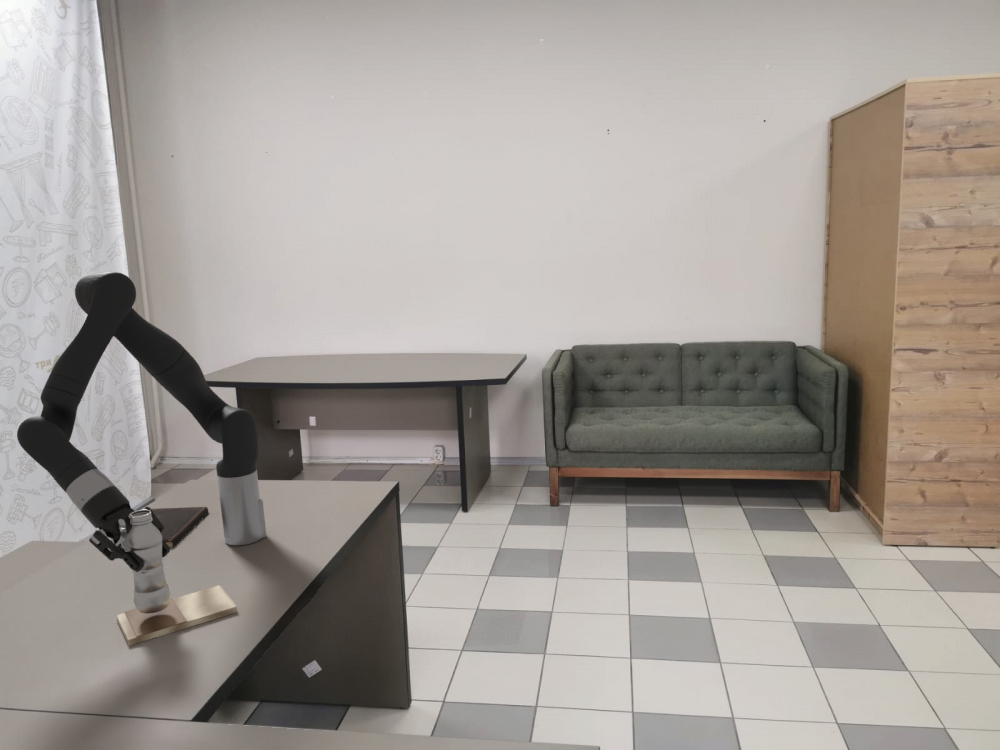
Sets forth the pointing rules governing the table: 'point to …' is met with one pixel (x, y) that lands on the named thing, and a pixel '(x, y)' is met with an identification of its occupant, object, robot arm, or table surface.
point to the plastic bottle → (148, 564)
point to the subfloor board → (176, 615)
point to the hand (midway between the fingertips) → (154, 561)
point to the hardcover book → (178, 522)
